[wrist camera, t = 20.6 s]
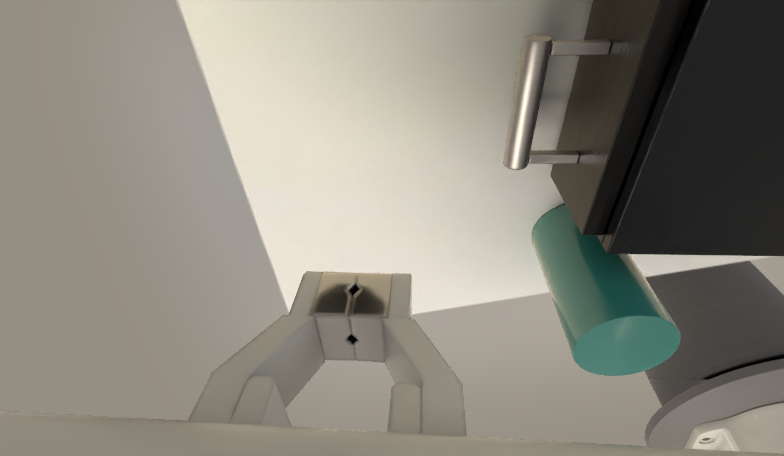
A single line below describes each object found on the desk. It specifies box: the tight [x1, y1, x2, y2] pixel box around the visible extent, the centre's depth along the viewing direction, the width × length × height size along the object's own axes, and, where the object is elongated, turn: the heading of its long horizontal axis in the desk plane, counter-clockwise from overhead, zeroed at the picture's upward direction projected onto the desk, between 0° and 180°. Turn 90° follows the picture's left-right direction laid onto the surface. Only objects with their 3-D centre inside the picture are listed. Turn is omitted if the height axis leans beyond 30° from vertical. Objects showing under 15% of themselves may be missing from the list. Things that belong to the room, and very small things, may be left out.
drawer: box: [503, 0, 696, 235], centre depth 21 cm, size 19×12×7 cm, turn 92°
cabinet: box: [596, 0, 784, 256], centre depth 20 cm, size 16×14×9 cm
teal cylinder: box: [532, 205, 681, 376], centre depth 27 cm, size 6×6×11 cm
